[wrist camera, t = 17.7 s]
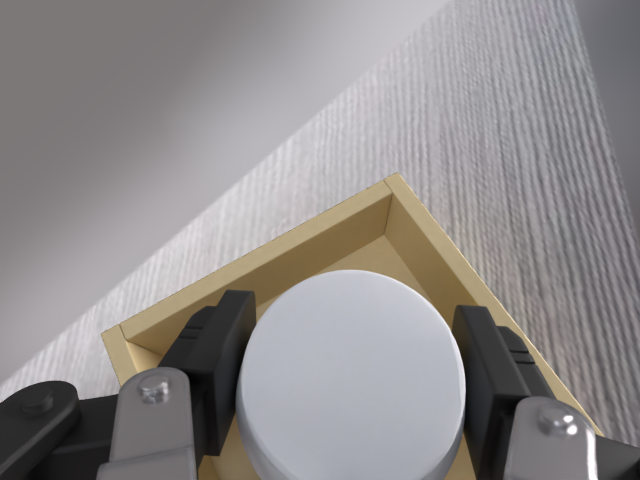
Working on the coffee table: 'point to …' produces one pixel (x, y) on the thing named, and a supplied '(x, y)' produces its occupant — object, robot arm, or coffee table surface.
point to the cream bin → (314, 259)
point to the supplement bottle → (351, 384)
